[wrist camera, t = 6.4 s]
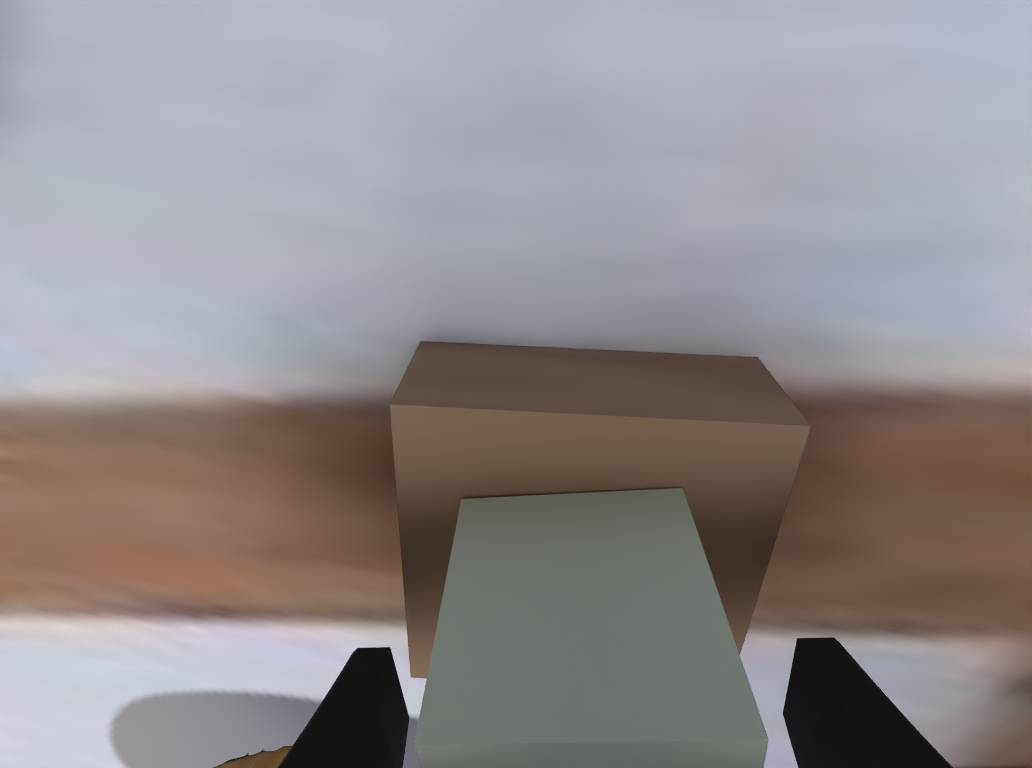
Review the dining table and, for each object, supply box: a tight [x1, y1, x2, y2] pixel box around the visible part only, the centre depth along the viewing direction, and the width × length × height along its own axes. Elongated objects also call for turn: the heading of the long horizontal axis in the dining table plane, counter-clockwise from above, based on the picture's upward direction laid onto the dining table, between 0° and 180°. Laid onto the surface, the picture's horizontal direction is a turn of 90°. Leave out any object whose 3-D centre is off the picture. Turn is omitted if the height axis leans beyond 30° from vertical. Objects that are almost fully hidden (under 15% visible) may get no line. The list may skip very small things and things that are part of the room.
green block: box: [414, 488, 768, 768], centre depth 11 cm, size 4×4×5 cm
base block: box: [390, 341, 811, 678], centre depth 14 cm, size 8×8×4 cm
